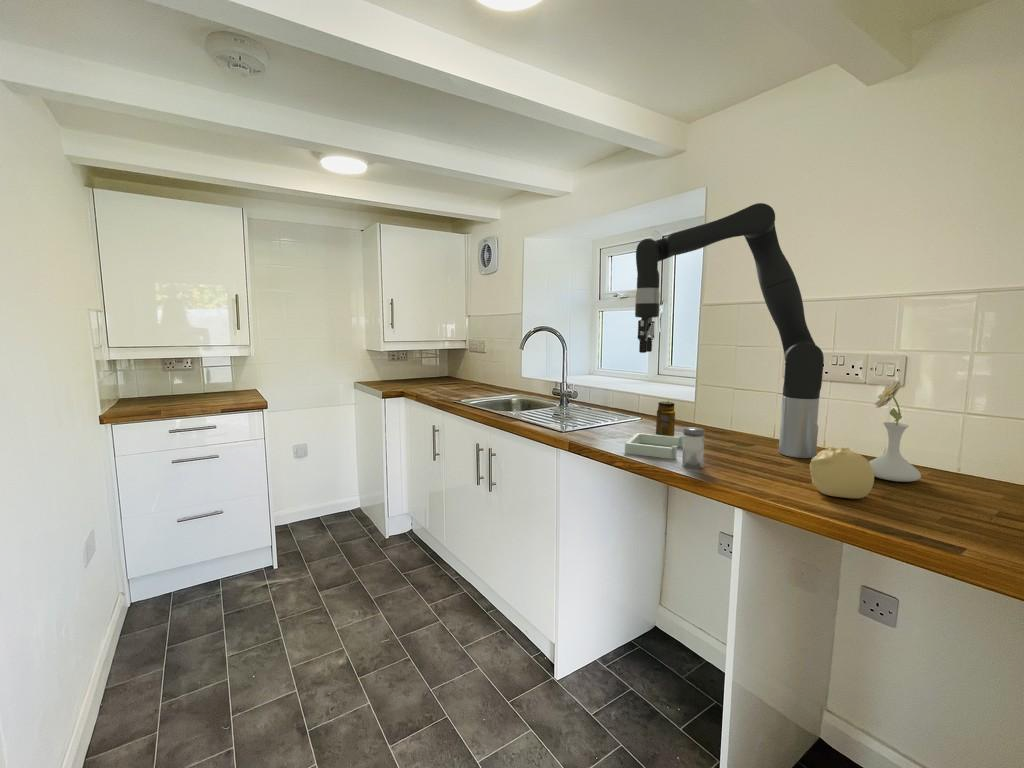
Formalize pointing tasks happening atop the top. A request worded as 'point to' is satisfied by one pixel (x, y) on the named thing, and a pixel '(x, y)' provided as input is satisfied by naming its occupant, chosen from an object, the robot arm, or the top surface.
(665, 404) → the condiment
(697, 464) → the shaker
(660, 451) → the tray
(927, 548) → the top surface
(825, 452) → the cream rounded lump
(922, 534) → the top surface
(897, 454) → the flower in vase
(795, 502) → the top surface
